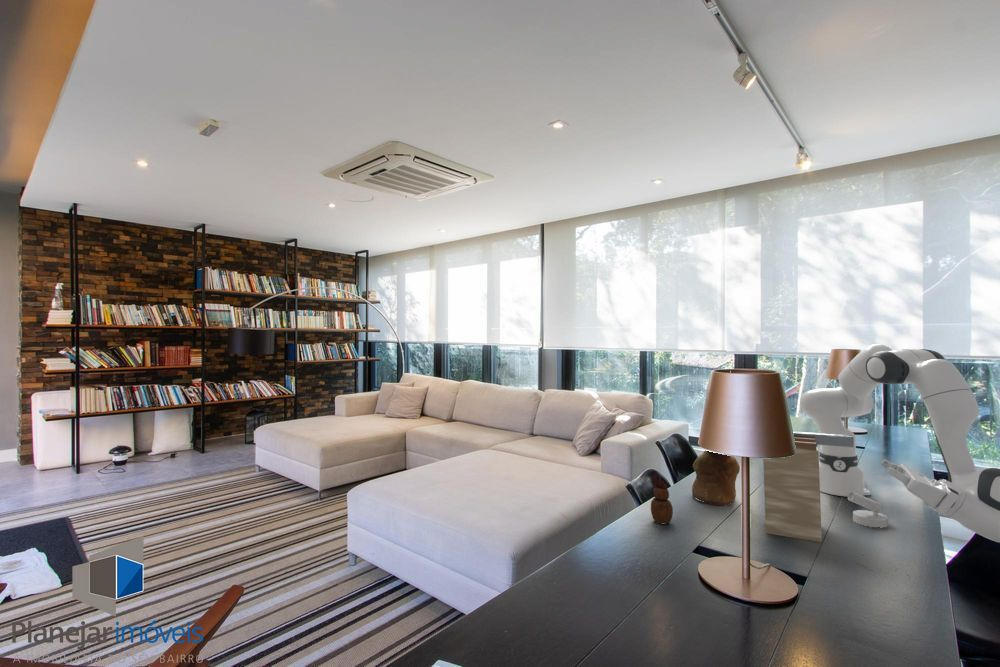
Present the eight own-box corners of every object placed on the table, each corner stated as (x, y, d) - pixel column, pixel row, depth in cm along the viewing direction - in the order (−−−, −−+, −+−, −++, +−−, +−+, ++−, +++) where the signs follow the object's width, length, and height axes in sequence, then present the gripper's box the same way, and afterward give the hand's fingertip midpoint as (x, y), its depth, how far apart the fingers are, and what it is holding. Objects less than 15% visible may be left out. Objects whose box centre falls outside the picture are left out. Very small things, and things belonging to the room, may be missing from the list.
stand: (767, 517, 155) (764, 431, 156) (819, 525, 148) (816, 435, 148) (765, 532, 143) (762, 439, 144) (821, 542, 136) (818, 443, 136)
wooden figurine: (647, 520, 155) (646, 474, 155) (660, 517, 157) (659, 471, 158) (663, 527, 149) (662, 479, 149) (676, 524, 151) (675, 476, 152)
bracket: (775, 439, 153) (774, 414, 153) (852, 445, 142) (851, 418, 142) (775, 441, 150) (774, 415, 150) (853, 447, 140) (852, 420, 140)
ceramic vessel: (729, 492, 181) (726, 414, 182) (754, 513, 159) (751, 423, 160) (686, 492, 183) (684, 414, 183) (705, 512, 161) (702, 423, 162)
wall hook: (841, 487, 155) (876, 488, 153) (842, 517, 155) (877, 518, 153) (855, 495, 146) (893, 497, 144) (857, 527, 146) (894, 529, 144)
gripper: (939, 477, 139) (885, 449, 145) (960, 497, 121) (898, 464, 128) (925, 494, 140) (873, 466, 147) (944, 516, 123) (884, 483, 129)
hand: (885, 465), depth 137 cm, fingers open, 8 cm apart
